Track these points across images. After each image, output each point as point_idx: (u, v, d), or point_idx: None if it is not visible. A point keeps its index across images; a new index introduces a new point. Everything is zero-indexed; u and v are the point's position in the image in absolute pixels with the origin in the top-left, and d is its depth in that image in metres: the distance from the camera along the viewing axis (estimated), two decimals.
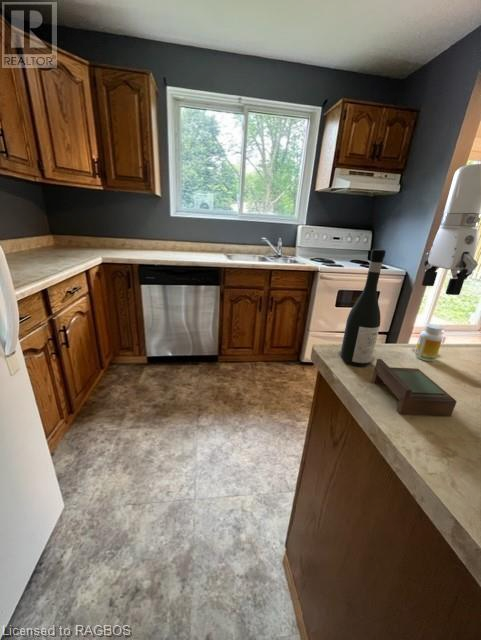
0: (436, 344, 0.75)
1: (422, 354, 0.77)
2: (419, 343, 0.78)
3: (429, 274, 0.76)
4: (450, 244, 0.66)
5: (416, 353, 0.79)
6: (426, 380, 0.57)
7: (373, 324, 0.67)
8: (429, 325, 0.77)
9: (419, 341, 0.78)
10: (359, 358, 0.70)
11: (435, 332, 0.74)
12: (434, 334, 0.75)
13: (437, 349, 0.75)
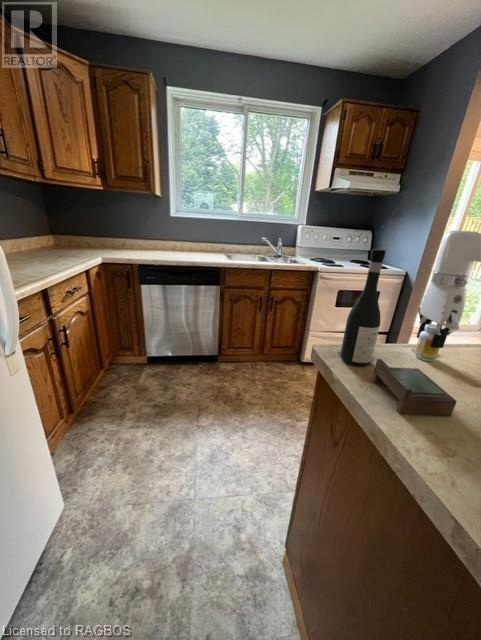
0: None
1: (422, 354, 0.77)
2: (419, 343, 0.78)
3: (424, 328, 0.79)
4: (440, 301, 0.71)
5: (416, 353, 0.79)
6: (426, 380, 0.57)
7: (373, 324, 0.67)
8: (429, 325, 0.77)
9: (419, 341, 0.78)
10: (359, 358, 0.70)
11: (435, 332, 0.74)
12: None
13: (437, 349, 0.75)
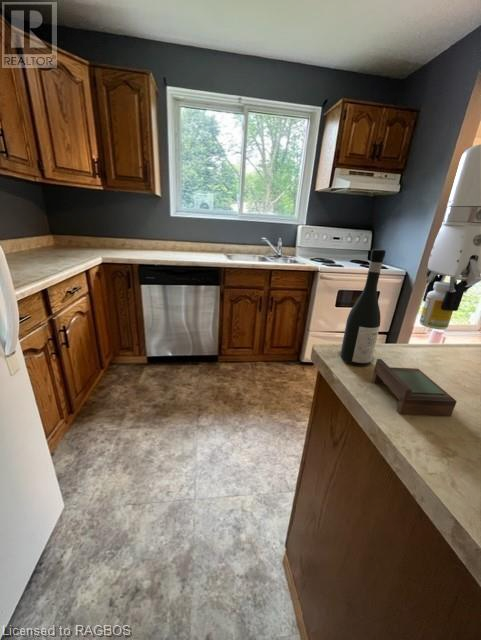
0: None
1: (430, 321, 0.59)
2: (425, 306, 0.60)
3: (432, 288, 0.61)
4: (455, 245, 0.53)
5: (422, 320, 0.61)
6: (426, 380, 0.57)
7: (373, 324, 0.67)
8: (440, 282, 0.59)
9: (426, 304, 0.60)
10: (359, 358, 0.70)
11: (447, 290, 0.56)
12: None
13: (450, 313, 0.58)
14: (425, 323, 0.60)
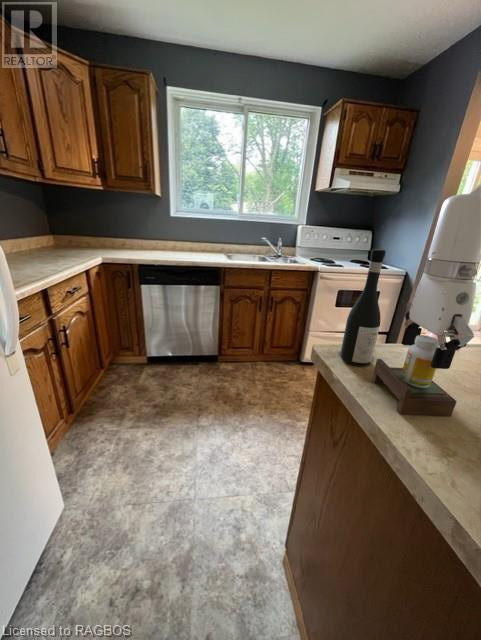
0: None
1: (412, 378, 0.54)
2: (406, 362, 0.55)
3: (411, 331, 0.57)
4: (436, 301, 0.48)
5: (403, 376, 0.56)
6: None
7: (373, 324, 0.67)
8: (422, 336, 0.54)
9: (407, 359, 0.55)
10: (359, 358, 0.70)
11: (429, 348, 0.52)
12: (428, 350, 0.52)
13: (432, 371, 0.53)
14: (406, 380, 0.55)
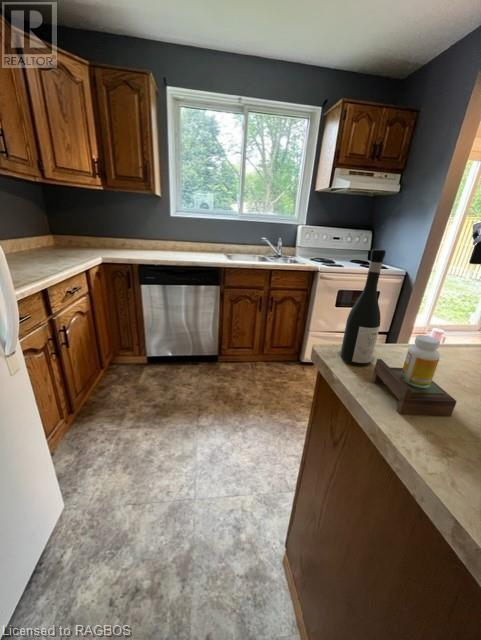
0: (431, 364, 0.52)
1: (412, 378, 0.54)
2: (406, 362, 0.55)
3: (480, 249, 0.59)
4: None
5: (403, 376, 0.56)
6: None
7: (373, 324, 0.67)
8: (422, 336, 0.54)
9: (407, 359, 0.55)
10: (359, 358, 0.70)
11: (429, 348, 0.52)
12: (428, 350, 0.52)
13: (432, 371, 0.53)
14: (406, 380, 0.55)
